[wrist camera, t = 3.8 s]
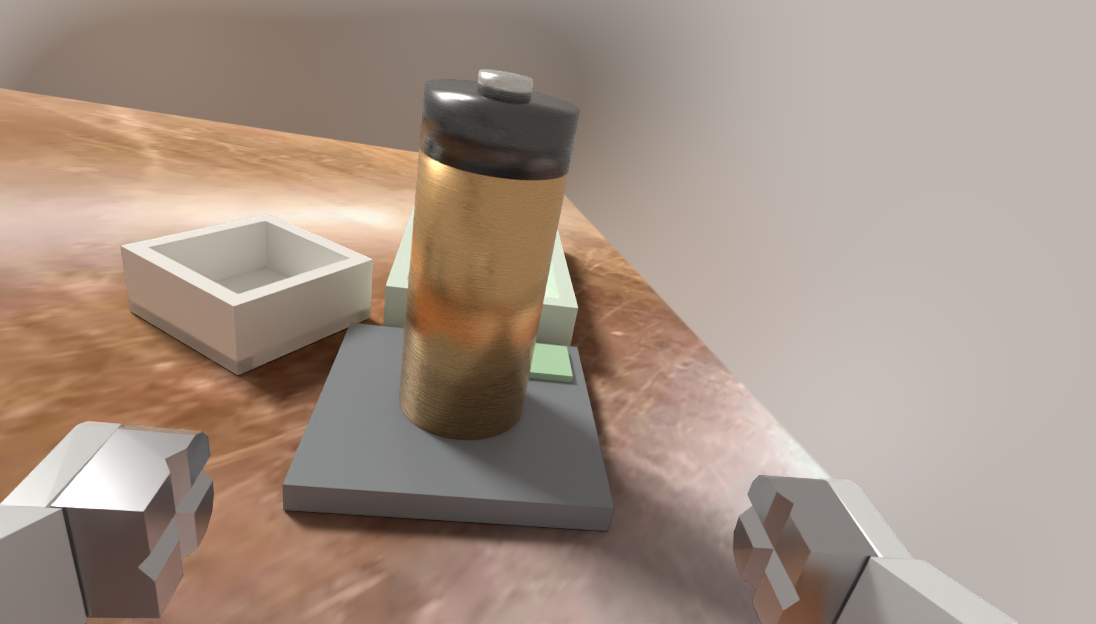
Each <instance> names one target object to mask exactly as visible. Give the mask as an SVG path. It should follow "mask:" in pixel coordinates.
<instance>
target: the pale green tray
mask: <svg viewBox="0 0 1096 624" xmlns="http://www.w3.org/2000/svg"><path fill="white" fill-rule="evenodd" d="M414 207H415V204H414ZM414 207H413V210H412V213H411V216H410V219H409V221H408V224H407V227H406V230H405V233H404V236H403V238H402V241H401V244H400V247H399V250H398V253H397V255H396V258H395V261H394V264H393V267H392V270H391V272H390V275H389V278H388V281H387V284H386V290H385V307H384V324H383V326H387V327H396V328H405V316H406V304H407V292H408V280H409V268H410V256H411V244H412V231H413V219H414ZM577 312H578V305H577V302H576V298H575V294H574V290H573V286H572V282H571V279H570V275H569V271H568V267H567V263H566V260H565V256H564V252H563V248H562V244H561V241H560V237H559V233H558V229H557V234H556V239H555V244H554V249H553V255H552V260H551V265H550V270H549V276H548V281H547V286H546V291H545V297H544V302H543V307H542V312H541V317H540V323H539V328H538V333H537V338H536V343H545V344H555V345H564V346H570V345H571V340H572V335H573V331H574V326H575V321H576V316H577Z"/></svg>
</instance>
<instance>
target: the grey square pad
mask: <svg viewBox="0 0 1096 624" xmlns="http://www.w3.org/2000/svg"><path fill="white" fill-rule="evenodd" d="M403 340H404V328H396V327H387V326H377V325H368V324H359V323H350V325H349V328H348V330H347V332H346V335H345V337H344V339H343V342H342V344H341V347H340V349H339V351H338V354H337V356H336V359H335V361H334V363H333V366H332V368H331V371H330V373H329V375H328V378H327V380H326V382H325V385H324V387H323V390H322V392H321V394H320V397H319V399H318V402H317V404H316V406H315V409H314V411H313V414H312V416H311V418H310V421H309V423H308V425H307V428H306V430H305V433H304V435H303V437H302V440H301V442H300V445H299V447H298V449H297V452H296V454H295V457H294V459H293V461H292V464H291V466H290V468H289V471H288V473H287V476H286V478H285V480H284V483H283V510H292V511H307V512H323V513H338V514H353V515H369V516H384V517H399V518H415V519H430V520H445V521H460V522H476V523H491V524H506V525H522V526H537V527H552V528H568V529H583V530H598V531H608V529H609V525H610V522H611V518H612V515H613V511H614V504H613V500H612V495H611V491H610V487H609V482H608V478H607V474H606V469H605V465H604V461H603V456H602V452H601V448H600V443H599V439H598V435H597V430H596V426H595V422H594V417H593V413H592V409H591V405H590V400H589V396H588V392H587V387H586V383H585V379H584V374H583V370H582V366H581V361H580V357H579V353H578V348H577V347H573V346H564V345H555V344H545V343H536V344H535V349H534V354H533V359H532V365H531V370H530V375H529V380H528V385H527V391H526V396H525V401H524V406H523V412H522V415H521V418H520V420H519V421H518V422H517V424H516V425H515V426H513V427H512V428H511V429H509V430H508V431H506V432H504V433H502V434H500V435H497V436H495V437H491V438H487V439H481V440H456V439H449V438H444V437H440V436H437V435H434V434H431V433H429V432H427V431H425V430H423V429H421V428H419V427H418V426H416V425H414V424H413V423H412V422H411V421H410V420H409V419H408V418H407V417H406V416H405V415H404V413H403V412H402V410H401V408H400V405H399V389H400V377H401V364H402V352H403Z"/></svg>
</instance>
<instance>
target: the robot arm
mask: <svg viewBox="0 0 1096 624" xmlns="http://www.w3.org/2000/svg"><path fill="white" fill-rule="evenodd" d="M209 457H210V449H209V441H208V436H207V435H205V434H204V433H203V432H200V431H190V430H180V429H169V428H159V427H149V426H139V425H129V424H127V425H122V424H113V423H103V422H92V421H87V422H84V423H81V424H79V425H77V426H75V427H74V428H73V429H72V430H71V431H70V432H69V433H68V434H67V435H66V436H65V437H64V438H63V440H62V441H61V442H60V443H59V444H58V445H57V446H56V447H55V448H54V449H53V450H52V451H51V452H50V453H49V454H48V455H47V456H46V457H45V458H44V459H43V460H42V461H41V462H40V463H39V464H38V465H37V466H36V467H35V468H34V469H33V470H32V471H31V472H30V474H29V475H28V476H27V477H26V478H25V479H24V480H23V481H22V482H21V483H20V484H19V485H18V486H17V487H16V488H15V489H14V490H13V491H12V492H11V493H10V494H9V495H8V496H7V497H6V498H5V499H4V500H3V501H2V502H1V503H0V624H85V623H86V622H87V618H161V616H162V614H163V612H164V611H165V609H166V607H167V605H168V603H169V601H170V599H171V598H172V596H173V594H174V592H175V590H176V588H177V587H178V585H179V583H180V581H181V579H182V577H183V568H182V559H183V558H184V557H186V556H187V555H189V554H190V553H192V552H193V551H195V550H196V549H198V547H199V545H200V543H201V541H202V539H203V537H204V535H205V533H206V531H207V527H208V524H209V520H210V517H211V514H212V508H213V497H214V491H213V480H212V479H211V478H210V477H209V476H208V475H207V474H206V473H205V472H204V471H203V470H202V469H203V467H204V466H205V464H206V462H207V461H208V459H209ZM748 497H749V499H750V501H751V503H752V505H753V506H752V507H750V508H749V509H748V510H747V511H745V512H744V513H743V514H741V515H740V516H739V518H738V521H737V524H736V527H735V530H734V541H733V551H734V556H735V561H736V565H737V568H738V570H739V573H740V575H741V578H742V579H744V580H745V581H746V582H747V583H748V584H749V585H751V586H752V587H753V588H754V589H755V590H756V593H755V596H754V599H753V601H752V604H753V606H754V608H755V611H756V613H757V615H758V618H759V620H760V622H761V624H1019V623H1018V622H1016V621H1015V620H1013V619H1012V618H1010V617H1009V616H1007V615H1006V614H1004V613H1003V612H1001V611H999V610H998V609H996V608H995V607H993V606H992V605H990V604H989V603H987V602H986V601H984V600H983V599H981V598H980V597H978V596H977V595H975V594H974V593H972V592H971V591H969V590H968V589H966V588H965V587H963V586H962V585H960V584H958V583H957V582H956V581H954V580H953V579H951V578H950V577H948V576H947V575H945V574H944V573H942V572H941V571H939V570H937V569H936V568H934V567H933V566H931V565H930V564H928V563H927V562H925V561H924V560H916V559H913V558H912V556H911V555H910V554H909V552H908V551H907V550H906V548H905V547H904V546H903V544H902V543H901V542H900V540H899V539H898V538H897V536H896V535H895V534H894V532H893V531H892V530H891V528H890V527H889V526H888V524H887V523H886V522H885V520H884V519H883V518H882V516H881V515H880V514H879V512H878V511H877V509H876V508H875V507H874V505H873V504H872V503H871V501H870V500H869V499H868V497H867V496H866V495H865V493H864V492H863V491H862V489H861V488H860V487H859V486H858V485H857V484H855V483H854V482H852V481H851V480H840V479H821V478H820V479H808V478H794V477H780V476H766V475H759V476H758V477H757V478H756V479H755V480H754V481H753V482H752V485H751V487H750V490H749V492H748Z"/></svg>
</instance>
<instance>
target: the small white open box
mask: <svg viewBox="0 0 1096 624" xmlns="http://www.w3.org/2000/svg"><path fill="white" fill-rule="evenodd" d="M121 253H122V260H123V267H124V274H125V281H126V288H127V295H128V302H129V309H130V311H131V312H132V313H134V314H136V315H137V316H139V317H141V318H142V319H144V320H146V321H147V322H149V323H151V324H152V325H154V326H156V327H157V328H159V329H161V330H162V331H164V332H166V333H167V334H169V335H171V336H172V337H174V338H176V339H178V340H179V341H181V342H183V343H184V344H186V345H188V346H189V347H191V348H193V349H194V350H196V351H198V352H199V353H201V354H203V355H204V356H206V357H208V358H209V359H211V360H213V361H214V362H216V363H218V364H219V365H221V366H223V367H224V368H226V369H228V370H229V371H231V372H233V373H234V374H236V375H240V374H242V373H245V372H247V371H249V370H251V369H254V368H256V367H258V366H261V365H263V364H265V363H267V362H270V361H272V360H274V359H277V358H279V357H281V356H283V355H286V354H288V353H290V352H293V351H295V350H297V349H299V348H302V347H304V346H306V345H309V344H311V343H313V342H315V341H318V340H320V339H322V338H325V337H327V336H329V335H331V334H334V333H336V332H338V331H341V330H343V329H345V328H348V327H349V325H350V323H359V322H361V321H364V320H366V319H368V318H370V309H371V288H372V267H373V259H371V258H369V257H366V256H364V255H362V254H359V253H357V252H355V251H352V250H350V249H348V248H345V247H343V246H341V245H339V244H336V243H334V242H332V241H329V240H327V239H325V238H322V237H320V236H318V235H316V234H313V233H311V232H309V231H306V230H304V229H302V228H299V227H297V226H295V225H293V224H290V223H288V222H286V221H283V220H281V219H279V218H276V217H274V216H272V215H270V214H265V215H260V216H256V217H251V218H246V219H242V220H237V221H233V222H228V223H223V224H219V225H214V226H210V227H205V228H200V229H196V230H191V231H187V232H182V233H177V234H173V235H168V236H164V237H159V238H154V239H150V240H145V241H140V242H136V243H131V244H127V245H122V246H121Z"/></svg>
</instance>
